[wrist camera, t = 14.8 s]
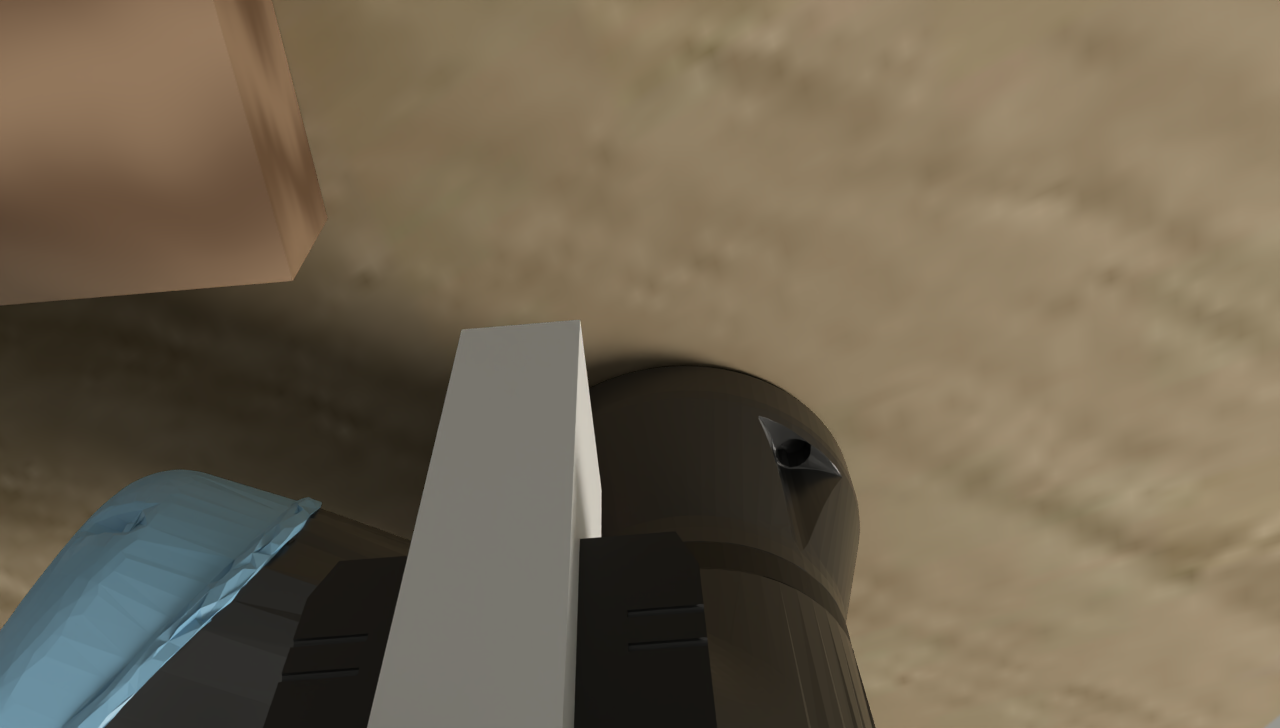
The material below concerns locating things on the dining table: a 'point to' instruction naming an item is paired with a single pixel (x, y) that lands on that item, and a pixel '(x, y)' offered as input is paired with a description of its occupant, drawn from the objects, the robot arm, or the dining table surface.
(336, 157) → the dining table surface
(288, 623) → the robot arm
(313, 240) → the walnut riser
